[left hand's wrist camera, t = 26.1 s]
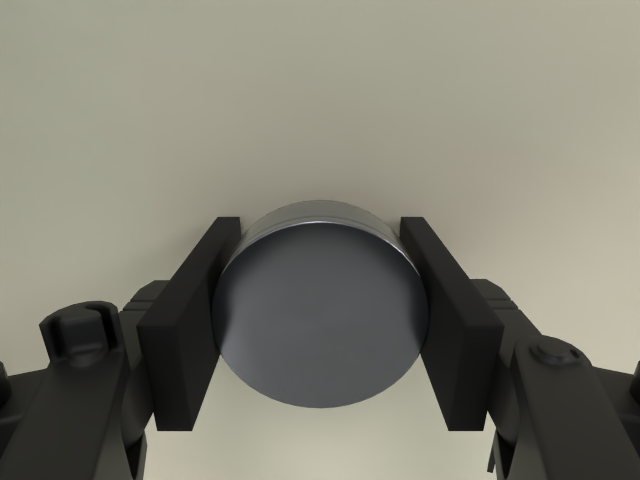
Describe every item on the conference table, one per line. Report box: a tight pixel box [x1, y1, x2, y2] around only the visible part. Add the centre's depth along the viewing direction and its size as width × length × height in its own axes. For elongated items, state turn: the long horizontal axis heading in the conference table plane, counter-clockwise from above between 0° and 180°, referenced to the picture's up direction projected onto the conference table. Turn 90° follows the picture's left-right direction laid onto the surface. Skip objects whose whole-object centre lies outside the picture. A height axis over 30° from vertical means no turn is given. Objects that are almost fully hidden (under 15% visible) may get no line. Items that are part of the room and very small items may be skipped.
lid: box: [211, 200, 430, 408], centre depth 11 cm, size 6×6×2 cm
